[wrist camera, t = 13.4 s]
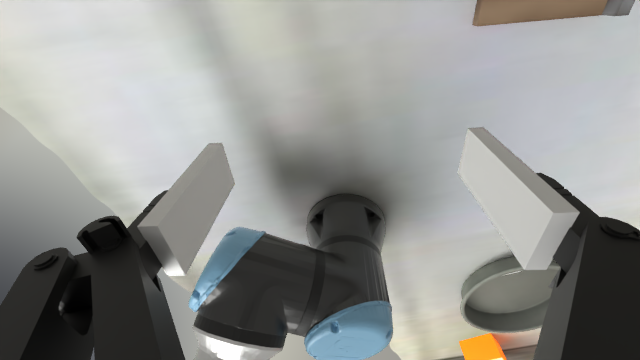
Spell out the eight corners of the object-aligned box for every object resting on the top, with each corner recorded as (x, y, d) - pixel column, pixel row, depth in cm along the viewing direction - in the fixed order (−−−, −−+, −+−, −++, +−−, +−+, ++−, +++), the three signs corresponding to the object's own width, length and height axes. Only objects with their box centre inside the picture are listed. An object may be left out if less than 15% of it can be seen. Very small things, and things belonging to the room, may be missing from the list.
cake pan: (599, 267, 58) (618, 286, 54) (515, 323, 71) (525, 342, 67) (502, 235, 54) (515, 253, 50) (433, 301, 67) (438, 319, 63)
